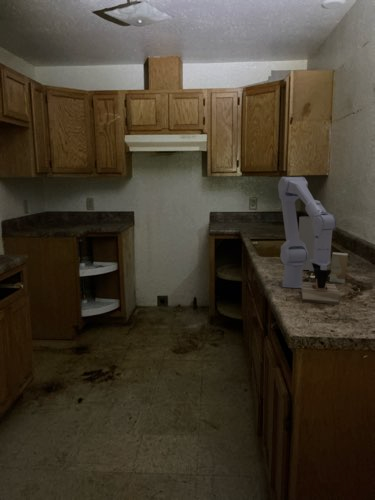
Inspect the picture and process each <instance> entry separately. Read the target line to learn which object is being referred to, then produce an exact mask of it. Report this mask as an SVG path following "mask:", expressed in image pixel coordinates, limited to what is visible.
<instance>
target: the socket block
mask: <svg viewBox="0 0 375 500" xmlns="http://www.w3.org/2000/svg"><path fill="white" fill-rule="evenodd" d="M315 288H316V282H303V281H302V287H301V288H300V289H301V290H300V293H301V294H300V295H301V299H302V302H303V303H315V304H317V303H319V304H328V305H340V304H339V303H340V291H339V290H338V288H337V286H336V284H334V283H326V290H322V289H315Z"/></svg>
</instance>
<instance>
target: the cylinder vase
mask: <svg viewBox="0 0 375 500" xmlns="http://www.w3.org/2000/svg"><path fill="white" fill-rule="evenodd" d="M312 222H313V221H312V219H311V218H310V216H299V222H298V232H299V239H300V240H301V241H302V242H303V243H304V244H305V246H306V250H307V252H308V260H307V261H306V262H305V265H303V271H304V270H309V271H308V272H314V268H313V265H312V263H313V262H310V259H313V257H314V243H315V235H314V230H313V227H312Z"/></svg>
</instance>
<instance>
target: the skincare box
mask: <svg viewBox="0 0 375 500" xmlns="http://www.w3.org/2000/svg"><path fill="white" fill-rule="evenodd" d="M331 255H332V256H331V263H330V270H331V273H330V274H329V282H332V283H340V284H345V283H346V276H347V267H348V258H349V253H346V252H345V253H344V252H333V251H332V253H331Z"/></svg>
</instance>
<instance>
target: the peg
mask: <svg viewBox="0 0 375 500" xmlns="http://www.w3.org/2000/svg"><path fill="white" fill-rule="evenodd" d="M315 283H316V288H315V289H322V290H326V285H325V287H324V288H318V285H317V279H316V281H315Z"/></svg>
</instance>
